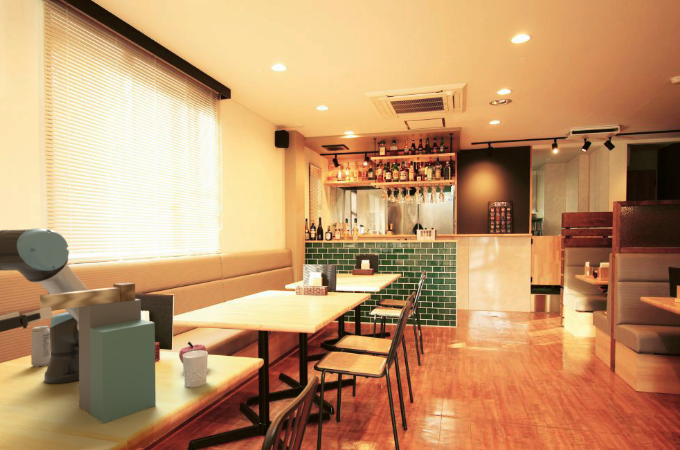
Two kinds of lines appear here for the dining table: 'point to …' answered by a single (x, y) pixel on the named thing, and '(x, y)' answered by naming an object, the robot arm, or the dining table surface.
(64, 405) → the dining table surface
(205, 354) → the white cup
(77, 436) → the dining table surface
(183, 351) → the apple
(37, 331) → the energy drink can
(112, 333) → the stand
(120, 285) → the wooden bar
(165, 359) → the dining table surface
